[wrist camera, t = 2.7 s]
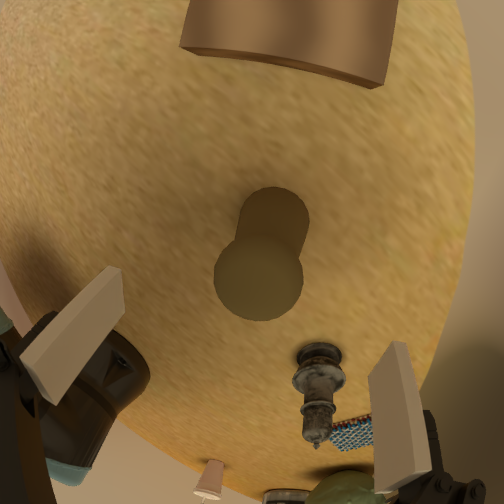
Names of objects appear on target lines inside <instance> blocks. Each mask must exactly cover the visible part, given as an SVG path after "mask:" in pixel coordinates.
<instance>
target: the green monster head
mask: <svg viewBox="0 0 504 504" xmlns="http://www.w3.org/2000/svg"><path fill="white" fill-rule="evenodd" d="M385 501H386V498H385V496H384V495H383V493H381V494H374V478H373V477H372V476H370V475H368V474H366V473H363V472H359V471H352V470H344V471H340V472H337V473H335V474H332V475H330V476H328V477H326V478H325V479H323V480H322V481H321V482H320V483H319V484H318V485H317V486H316V487H315V488H314V489H313V490H312V491H311V492H310V494H309V495H308V496H307V498H306V500H305V504H387V503H385Z"/></svg>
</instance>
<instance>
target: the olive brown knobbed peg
mask: <svg viewBox="0 0 504 504" xmlns="http://www.w3.org/2000/svg"><path fill="white" fill-rule="evenodd" d="M308 227H309V214H308V210H307V208H306V206H305V204H304V202H303V201H302V200H301V199H300V198H299V197H298V196H297V195H296V194H294V193H292V192H290V191H289V190H287V189H283V188H278V187H269V188H263V189H261V190H258V191H256V192H254V193H253V194H252V195H251V196H250V197H249V198H248V199H247V200H246V201H245V203H244V205H243V207H242V209H241V212H240V217H239V222H238V226H237V231H236V235H235V240H234V241H232V242H231V243H230V244H229V245H228V246H227V247H226V248H225V249H224V250H223V251H222V253H221V254H220V256H219V258H218V260H217V262H216V265H215V270H214V286H215V289H216V292H217V295H218V297H219V298H220V300H221V301H222V303H223V304H224V306H225V307H226V308H227V309H229V310H230V311H231V312H232V313H233V314H235V315H237V316H239V317H242V318H244V319H248V320H252V321H268V320H271V319H275V318H278V317H280V316H281V315H283V314H284V313H286V312H287V311H289V310H290V309H291V308H292V307H293V306H294V304H295V303H296V301H297V300H298V298H299V296H300V294H301V290H302V286H303V270H302V265H301V263H300V261H299V259H298V258H299V256H300V253H301V250H302V247H303V244H304V241H305V238H306V235H307V231H308Z"/></svg>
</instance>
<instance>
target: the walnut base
mask: <svg viewBox="0 0 504 504" xmlns="http://www.w3.org/2000/svg"><path fill="white" fill-rule="evenodd" d="M397 6H398V0H190V3H189V7H188V11H187V15H186V19H185V23H184V27H183V31H182V35H181V40H180V44H179V47H181V48H183V49H185V50H187V51H190V52H192V53H194V54H196V55H199V56H213V57H224V58H234V59H242V60H250V61H256V62H263V63H269V64H275V65H280V66H285V67H290V68H295V69H300V70H304V71H309V72H313V73H317V74H321V75H325V76H328V77H332V78H336V79H339V80H343V81H346V82H349V83H353V84H356V85H359V86H362V87H365V88H368V89H373V88H376V87H379V86H382V85H384V82H385V77H386V72H387V67H388V62H389V57H390V51H391V46H392V40H393V34H394V27H395V21H396V14H397Z"/></svg>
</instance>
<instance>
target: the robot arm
mask: <svg viewBox="0 0 504 504" xmlns="http://www.w3.org/2000/svg"><path fill="white" fill-rule="evenodd" d="M124 313H125V304H124V295H123V284H122V272H121V269H119V268H116V267H113V266H110V265H108V266H107V267H106V268H105V269H104V270H103V271H102V272H101V273H99V274H98V275H97V276H96V277H95V278H94V279H93V280H92V281H91V282H90V283H89V284H88V285H87V286H86V287H85V288H84V289H83V290H82V291H81V292H80V293H79V294H78V295H77V296H76V297H75V298H74V299H73V300H72V301H71V302H70V303H69V304H68V305H67V306H66V307H65V308H64V309H63V310H62V311H61V312H60V313H58V312H56V311H52V312H50V313H48V314H46V315H44V316H43V317H42V318H41V319H40V320H39V321H38V322H37V325H36V324H35V326H34V327H33V328H32V329H31V331H29V332H28V333H27V334H26V335H25V336H24V337H23V338H22V337H21V335H20V334H19V333H18V331H17V330H16V328H15V327H14V325H13V322H12V320H11V319H9V318H8V317H7V315H6V314H5V312H4V311H3V309H2V308H1V307H0V504H57V502H56V499H55V495H54V492H53V488H52V485H51V480H50V477H51V478H52V479H55V480H57V481H59V482H61V483H63V484H65V485H68V486H77V485H80V484H81V483H82V481H83V479H84V478H85V476H86V474H87V473H88V471H89V470H91V469H92V464H93V462H94V460H95V458H96V456H97V454H98V452H99V450H100V448H101V446H102V444H103V442H104V440H105V438H106V436H107V434H108V432H109V430H110V428H111V427H112V425H113V423H114V421H115V419H116V417H117V415H118V414H119V413H120V412H121V411H122V410H123V409H124V408H126V407H127V406H128V405H129V404H130V403H131V402H133V401H134V400H135V399H136V398H137V397H138V396H140V395H141V394H142V393H143V391H144V390H145V388H146V386H147V384H148V382H149V380H150V373H149V369H148V367H147V365H146V363H145V361H144V360H143V358H142V357H141V355H140V354H139V353H138V352H137V351H136V350H135V348H134V347H133V346H132V345H131V344H129V343H128V342H127V341H126V340H125V339H124V338H122V337H121V336H120V335H118V334H117V333H116V332H114V331H113V330H112V328H113V327H114V326H115V325H116V323H117V322H118V321H119V320H120V318H121V317H122V316H123V314H124ZM368 383H369V392H370V402H371V414H372V428H373V446H374V476H375V477H374V494H381V493H391V492H393V491H395V490H397V489H398V491H399V494H397V495H395V496H393V497H391V498H389V499H387V500H386V501H385V503H388V502H390V501H391V502H390V504H484V500H485V495H486V489H485V485H484V483H483V482H482V481H481V480H479V479H474V480H472V481H471V482H469V483H467V484H466V483H461V482H456V481H453V478H452V477H451V475H450V474H449V473H447V472H444V469H443V464H442V457H441V451H440V445H439V440H438V434H437V432H436V430H437V428H436V423H435V419H434V417H433V416H432V414H431V412H430V410H422V405H421V400H420V396H419V391H418V387H417V383H416V379H415V375H414V371H413V367H412V363H411V359H410V356H409V352H408V348H407V345H406V343H404V342H399V341H392V342H391V344H390V345H389V347H388V348H387V350H386V351H385V353H384V354H383V356H382V357H381V359H380V360H379V362H378V363H377V364H376V366H375V367H374V369H373V370H372V371H371V373H370V374H369V375H368Z"/></svg>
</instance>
